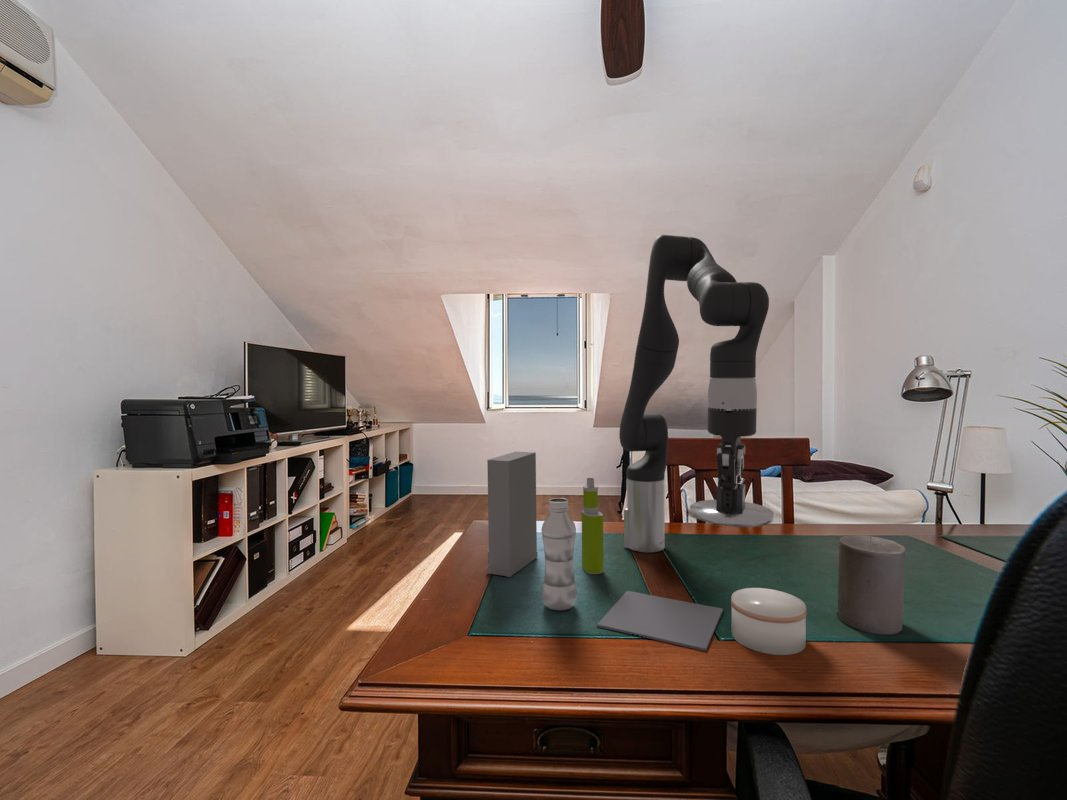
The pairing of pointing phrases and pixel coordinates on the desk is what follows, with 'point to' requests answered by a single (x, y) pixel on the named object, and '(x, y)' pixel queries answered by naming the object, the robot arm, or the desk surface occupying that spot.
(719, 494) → the lid
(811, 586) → the desk surface
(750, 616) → the dish
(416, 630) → the desk surface
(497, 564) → the upright grey slab box
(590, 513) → the vape
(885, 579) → the pillar candle
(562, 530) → the plastic bottle
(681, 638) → the mat
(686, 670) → the desk surface
